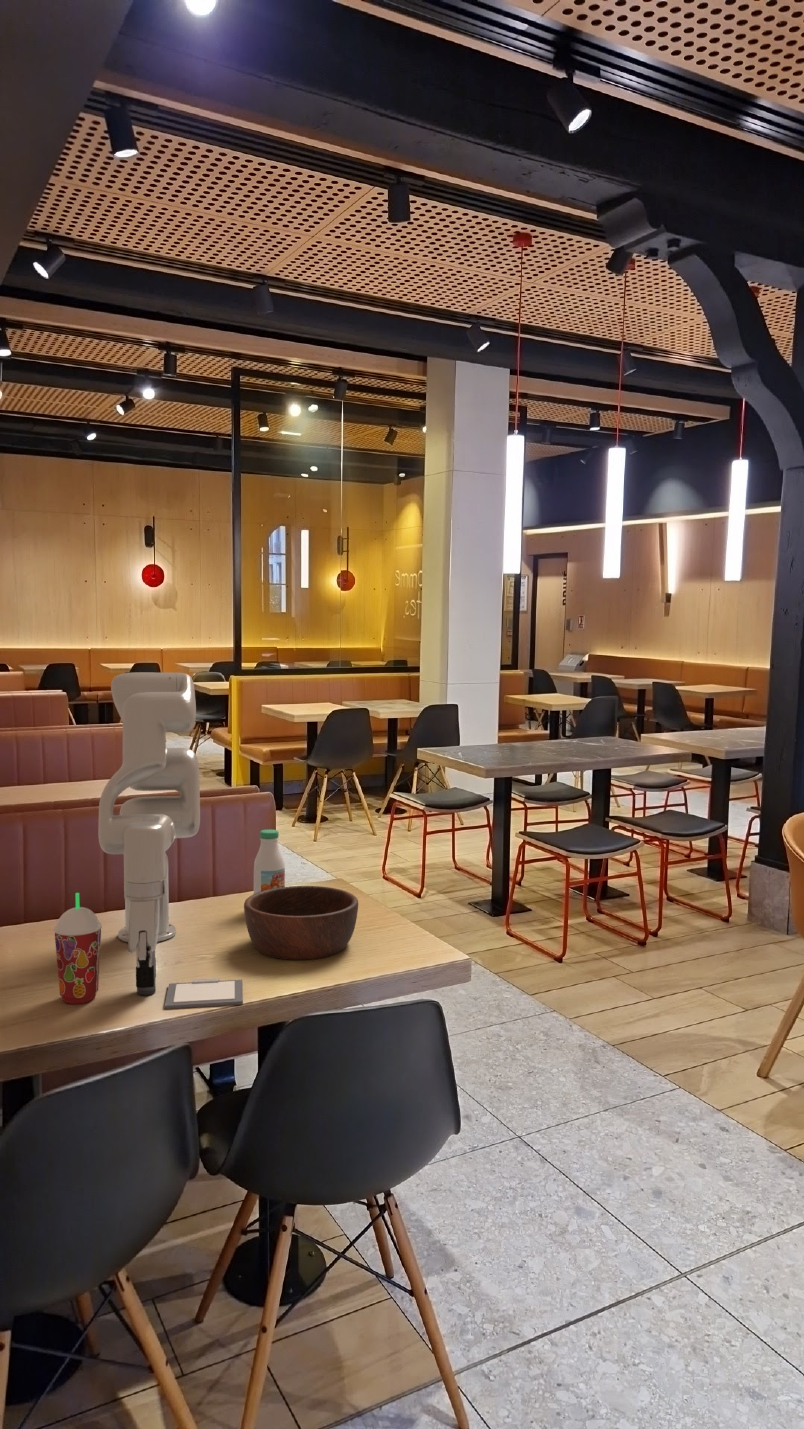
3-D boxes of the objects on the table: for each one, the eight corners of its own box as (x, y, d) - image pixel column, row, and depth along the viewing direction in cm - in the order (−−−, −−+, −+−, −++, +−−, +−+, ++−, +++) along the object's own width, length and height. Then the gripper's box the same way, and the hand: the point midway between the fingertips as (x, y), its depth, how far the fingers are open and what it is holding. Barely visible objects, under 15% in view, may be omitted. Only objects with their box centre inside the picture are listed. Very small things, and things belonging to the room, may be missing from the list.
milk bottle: (249, 913, 225) (249, 833, 223) (259, 904, 232) (259, 827, 231) (279, 915, 224) (279, 834, 222) (288, 906, 231) (288, 828, 230)
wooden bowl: (342, 924, 217) (342, 881, 216) (371, 959, 194) (371, 911, 193) (236, 933, 210) (236, 889, 209) (253, 970, 186) (253, 921, 185)
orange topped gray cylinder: (137, 989, 175) (136, 935, 174) (156, 988, 176) (156, 934, 175) (135, 996, 171) (134, 941, 171) (155, 995, 172) (154, 940, 171)
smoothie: (108, 989, 175) (106, 887, 173) (95, 1007, 166) (93, 899, 165) (64, 990, 174) (62, 887, 173) (48, 1007, 166) (46, 899, 164)
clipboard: (168, 986, 177) (168, 980, 177) (242, 982, 179) (242, 976, 179) (164, 1009, 166) (164, 1003, 166) (242, 1004, 168) (242, 998, 168)
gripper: (129, 877, 179) (130, 968, 181) (118, 901, 163) (120, 1001, 165) (168, 876, 181) (169, 966, 182) (162, 899, 164) (163, 998, 166)
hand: (146, 982), depth 173 cm, fingers closed on orange topped gray cylinder, 3 cm apart
